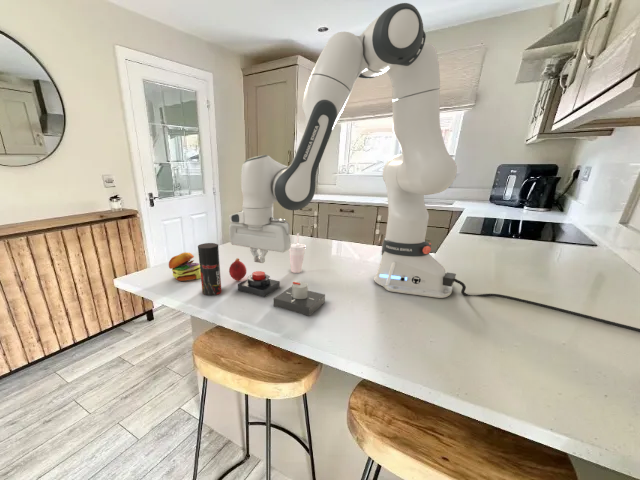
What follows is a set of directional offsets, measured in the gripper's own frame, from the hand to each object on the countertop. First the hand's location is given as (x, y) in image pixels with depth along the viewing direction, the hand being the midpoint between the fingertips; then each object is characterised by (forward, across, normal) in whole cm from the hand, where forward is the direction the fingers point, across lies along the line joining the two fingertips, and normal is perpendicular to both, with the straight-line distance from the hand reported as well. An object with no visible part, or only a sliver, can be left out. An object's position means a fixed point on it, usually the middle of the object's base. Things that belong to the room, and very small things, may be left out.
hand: (259, 262), depth 94 cm
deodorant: (+9, +11, +10) cm, 18 cm away
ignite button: (+5, 0, 0) cm, 5 cm away
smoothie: (+9, -2, -21) cm, 23 cm away
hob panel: (+9, -16, +3) cm, 18 cm away
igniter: (+9, 0, 0) cm, 9 cm away
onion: (+9, +10, -2) cm, 14 cm away
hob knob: (+7, -16, +3) cm, 17 cm away
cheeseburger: (+9, +28, +5) cm, 30 cm away
